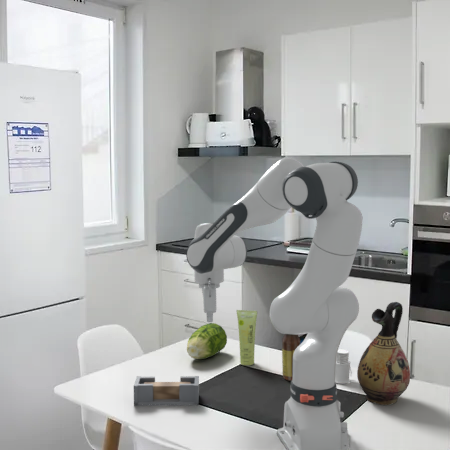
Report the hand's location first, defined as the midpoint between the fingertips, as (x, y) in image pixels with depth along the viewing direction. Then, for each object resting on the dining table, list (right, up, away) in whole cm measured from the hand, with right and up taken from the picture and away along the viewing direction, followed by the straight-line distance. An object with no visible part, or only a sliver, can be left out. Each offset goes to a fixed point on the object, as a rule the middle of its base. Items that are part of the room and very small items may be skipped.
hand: (209, 321), depth 186 cm
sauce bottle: (+27, -22, +18) cm, 39 cm away
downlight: (+43, -22, +17) cm, 51 cm away
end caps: (-13, -24, -1) cm, 27 cm away
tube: (+12, -20, +33) cm, 40 cm away
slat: (-13, -23, -1) cm, 26 cm away
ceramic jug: (+53, -24, +1) cm, 58 cm away
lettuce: (-3, -20, +39) cm, 44 cm away
